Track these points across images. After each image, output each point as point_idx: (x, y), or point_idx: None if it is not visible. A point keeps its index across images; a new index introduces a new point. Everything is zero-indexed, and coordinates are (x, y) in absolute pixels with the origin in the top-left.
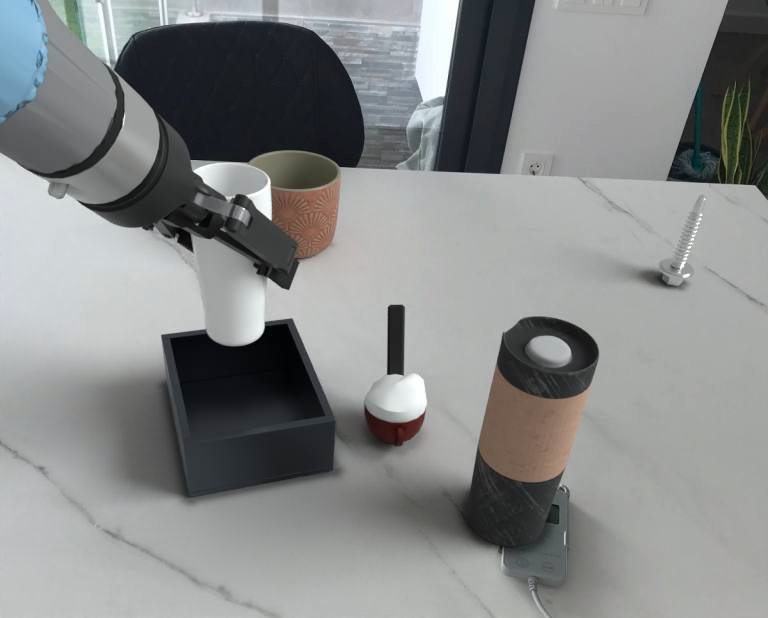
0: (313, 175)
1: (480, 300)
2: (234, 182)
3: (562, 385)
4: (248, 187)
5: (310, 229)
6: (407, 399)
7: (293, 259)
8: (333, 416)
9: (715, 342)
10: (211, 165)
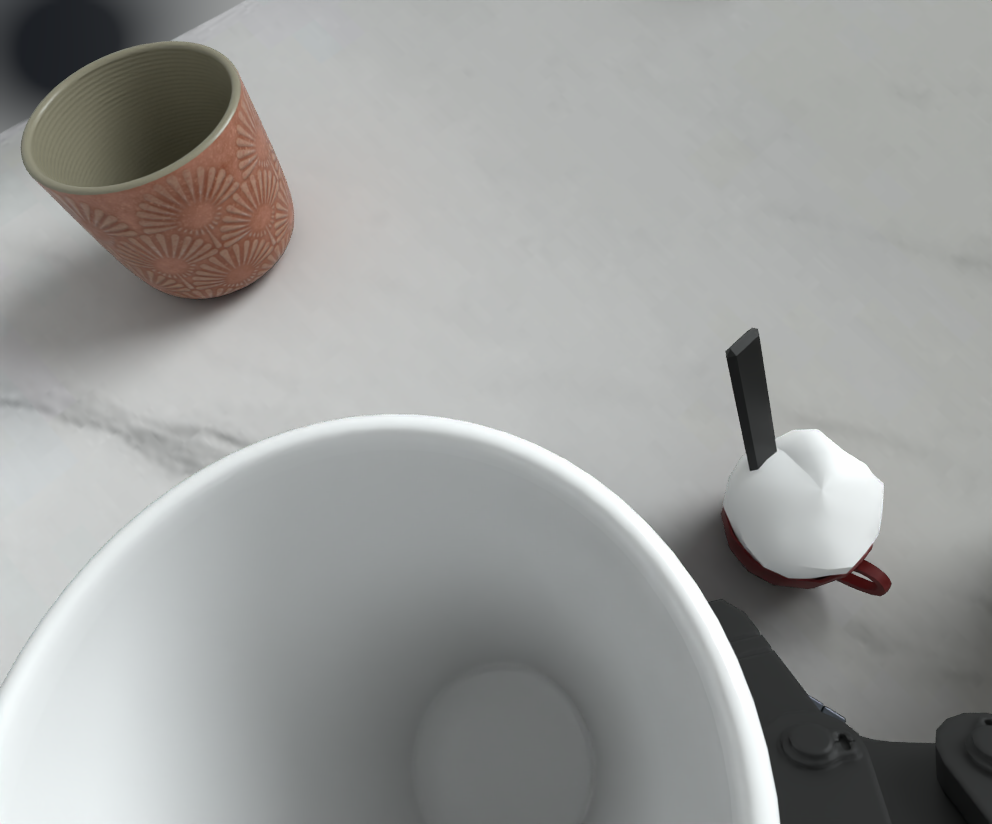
0: (164, 95)
1: (607, 154)
2: (256, 545)
3: None
4: (353, 505)
5: (259, 214)
6: (865, 513)
7: (740, 611)
8: (832, 713)
9: (957, 6)
10: (36, 665)
